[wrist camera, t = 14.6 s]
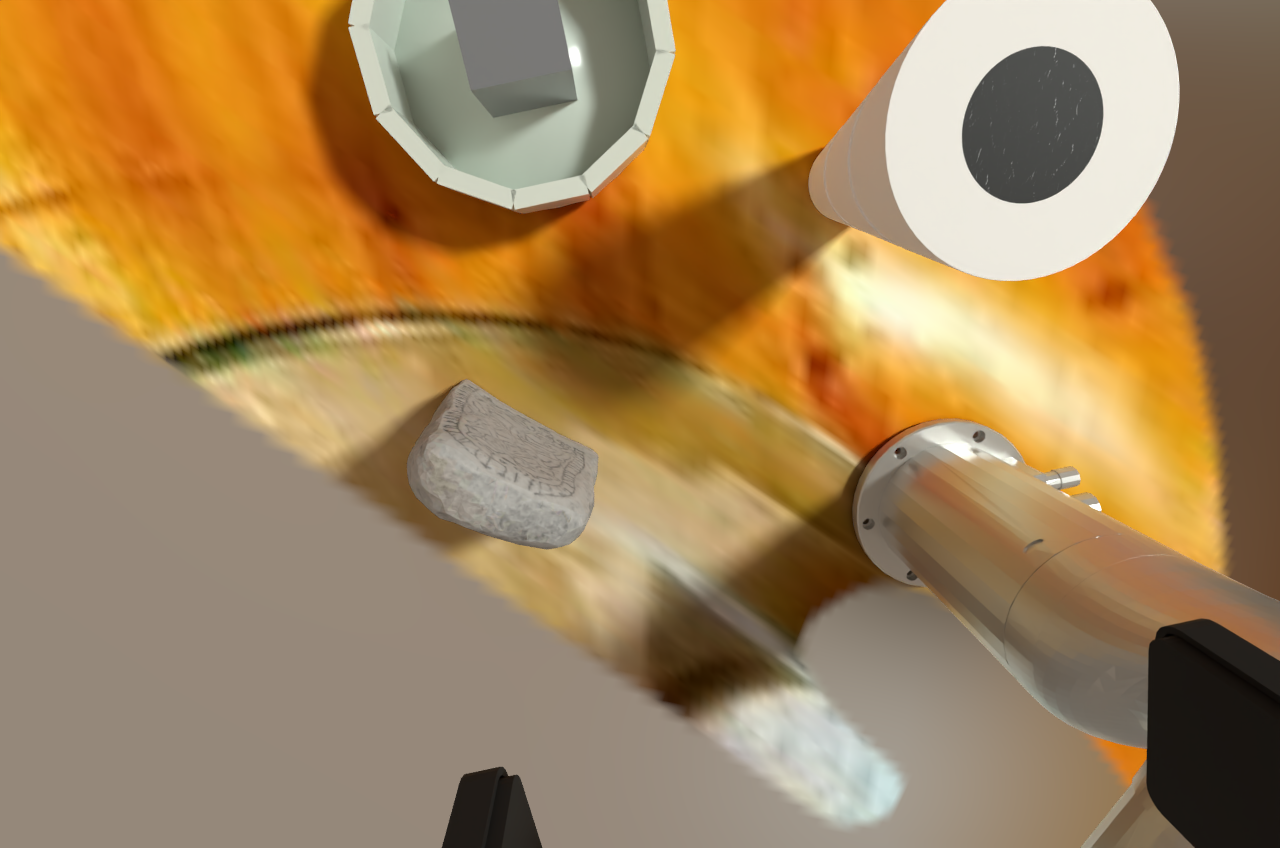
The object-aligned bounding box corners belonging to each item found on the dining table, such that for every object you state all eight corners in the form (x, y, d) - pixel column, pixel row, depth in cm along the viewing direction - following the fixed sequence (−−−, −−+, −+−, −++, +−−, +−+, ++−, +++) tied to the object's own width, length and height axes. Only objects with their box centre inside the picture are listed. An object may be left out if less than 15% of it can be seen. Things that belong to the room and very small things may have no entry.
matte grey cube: (557, 3, 36) (547, -50, 29) (577, 100, 37) (572, 69, 31) (470, 22, 36) (441, -27, 29) (493, 118, 37) (470, 90, 31)
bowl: (632, -122, 35) (636, -182, 30) (684, 181, 39) (695, 171, 35) (348, -62, 35) (307, -112, 30) (431, 234, 39) (408, 232, 35)
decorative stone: (611, 438, 43) (615, 530, 29) (571, 510, 45) (555, 633, 30) (465, 363, 42) (392, 422, 27) (427, 440, 43) (337, 536, 28)
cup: (926, 74, 39) (1191, -70, 21) (931, 254, 41) (1168, 257, 24) (753, 101, 38) (877, -21, 21) (770, 280, 41) (892, 301, 24)
